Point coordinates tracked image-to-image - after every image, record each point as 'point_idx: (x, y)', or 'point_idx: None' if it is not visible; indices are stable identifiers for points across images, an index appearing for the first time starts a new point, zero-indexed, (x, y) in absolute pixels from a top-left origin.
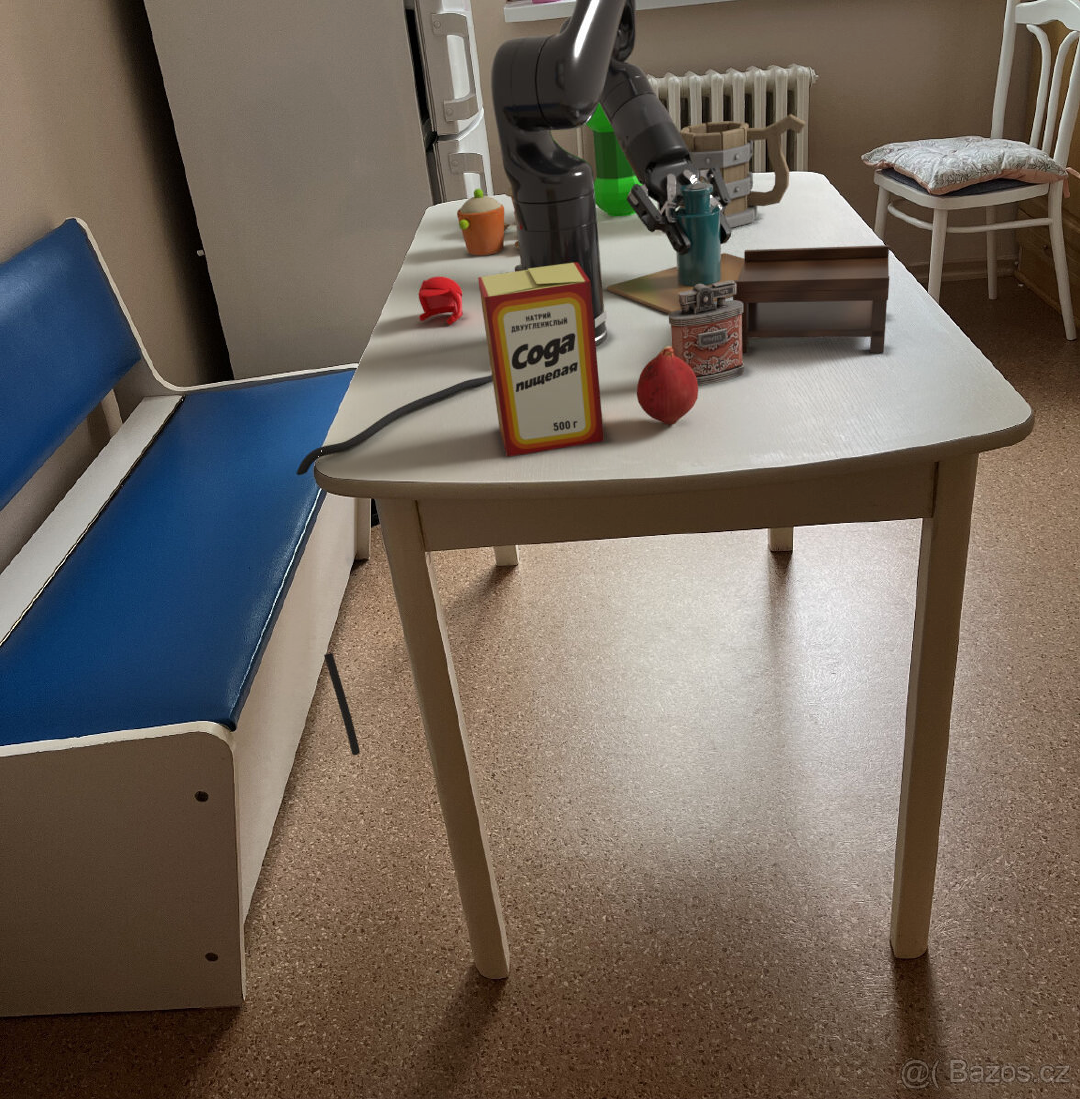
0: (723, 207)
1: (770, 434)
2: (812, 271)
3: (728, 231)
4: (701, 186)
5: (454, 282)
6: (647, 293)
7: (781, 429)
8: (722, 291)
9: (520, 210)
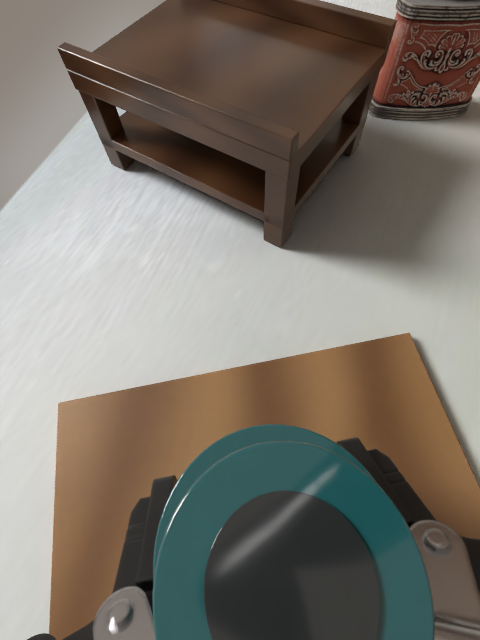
0: (80, 634)
1: (394, 12)
2: (220, 62)
3: (159, 484)
4: (258, 546)
5: None
6: (439, 494)
7: (381, 14)
8: None
9: None
